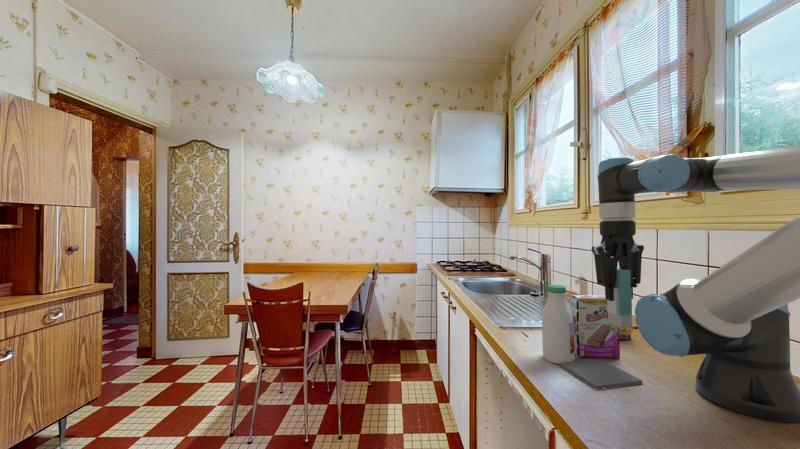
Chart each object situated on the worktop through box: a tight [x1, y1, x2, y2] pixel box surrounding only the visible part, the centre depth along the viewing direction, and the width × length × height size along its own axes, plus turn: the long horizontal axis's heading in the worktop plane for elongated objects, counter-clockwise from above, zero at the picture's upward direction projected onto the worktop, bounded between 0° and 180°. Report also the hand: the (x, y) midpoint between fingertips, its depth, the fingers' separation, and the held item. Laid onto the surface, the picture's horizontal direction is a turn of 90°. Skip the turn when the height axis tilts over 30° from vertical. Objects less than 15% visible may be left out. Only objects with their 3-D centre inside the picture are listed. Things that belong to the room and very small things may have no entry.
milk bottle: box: [541, 284, 576, 365], centre depth 86 cm, size 8×8×20 cm
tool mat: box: [559, 358, 643, 390], centre depth 76 cm, size 12×12×1 cm
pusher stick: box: [608, 267, 633, 328], centre depth 80 cm, size 4×3×14 cm
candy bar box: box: [569, 294, 621, 359], centre depth 88 cm, size 11×5×16 cm, turn 84°
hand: (619, 312), depth 79 cm, fingers closed on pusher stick, 3 cm apart
